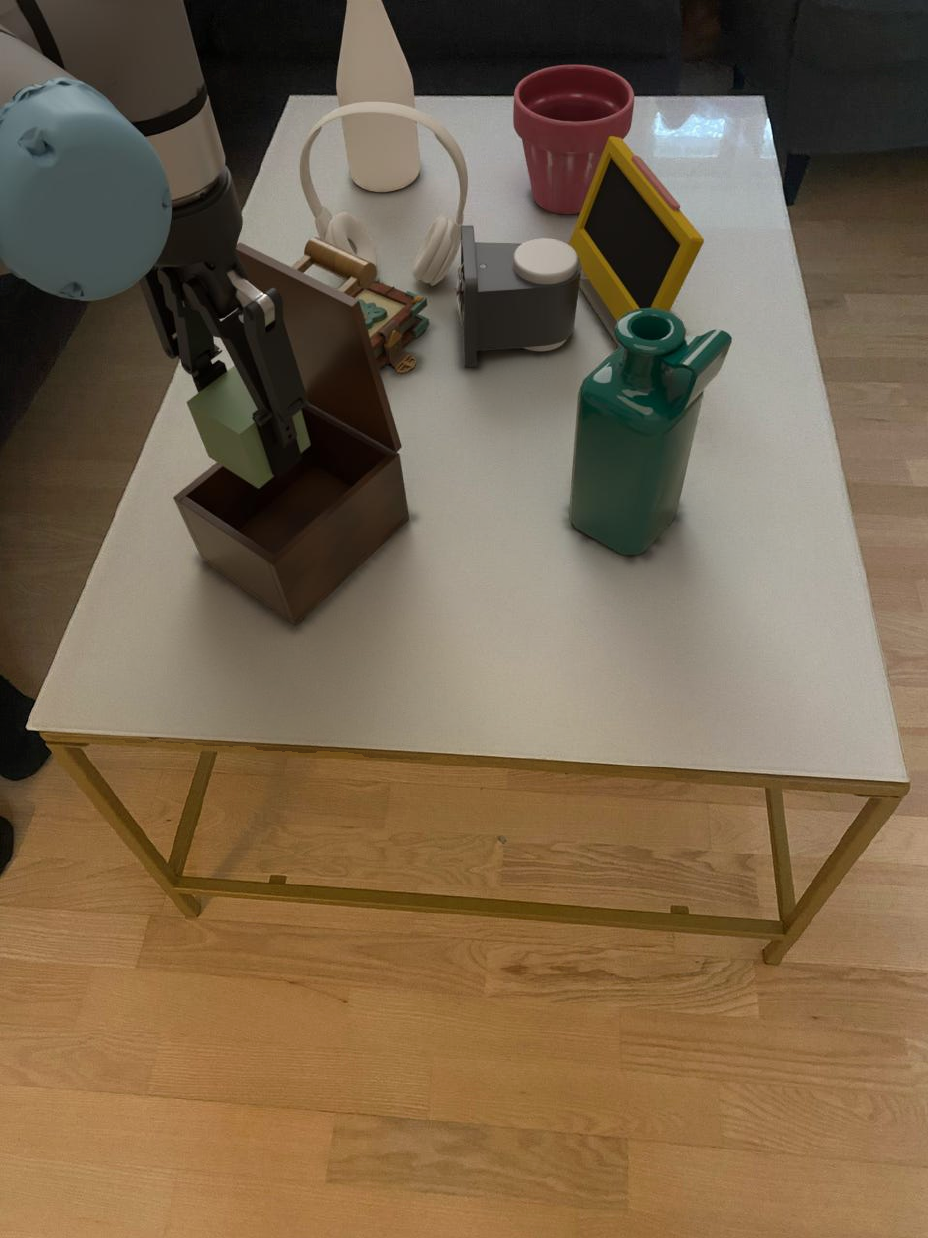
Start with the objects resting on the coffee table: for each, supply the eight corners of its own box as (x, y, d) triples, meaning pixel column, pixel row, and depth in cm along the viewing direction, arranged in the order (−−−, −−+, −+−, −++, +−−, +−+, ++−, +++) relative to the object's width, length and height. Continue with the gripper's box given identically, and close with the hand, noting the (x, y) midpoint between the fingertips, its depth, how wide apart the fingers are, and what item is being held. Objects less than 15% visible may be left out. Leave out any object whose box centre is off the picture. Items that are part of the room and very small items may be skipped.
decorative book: (257, 383, 99) (246, 346, 95) (357, 296, 107) (351, 259, 102) (351, 428, 94) (344, 391, 90) (449, 335, 102) (446, 297, 98)
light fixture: (577, 368, 98) (589, 281, 89) (457, 371, 98) (456, 284, 89) (567, 306, 105) (577, 218, 96) (453, 308, 104) (453, 221, 95)
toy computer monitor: (565, 272, 107) (572, 140, 94) (626, 257, 108) (641, 124, 95) (633, 378, 96) (652, 245, 83) (700, 361, 97) (729, 227, 84)
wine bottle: (369, 202, 118) (329, -72, 93) (339, 169, 122) (294, -100, 98) (433, 180, 120) (411, -94, 95) (401, 148, 125) (372, -120, 100)
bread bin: (296, 626, 80) (274, 566, 73) (202, 560, 85) (172, 497, 78) (409, 518, 87) (399, 453, 79) (316, 462, 92) (298, 396, 84)
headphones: (467, 299, 105) (458, 126, 89) (315, 292, 107) (278, 122, 91) (475, 262, 109) (468, 90, 93) (329, 256, 111) (296, 87, 95)
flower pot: (644, 184, 117) (657, 80, 106) (587, 239, 111) (595, 134, 100) (551, 154, 122) (554, 52, 111) (492, 204, 116) (489, 102, 105)
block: (258, 489, 72) (239, 434, 67) (208, 457, 74) (185, 401, 69) (311, 444, 74) (296, 389, 69) (260, 415, 77) (242, 359, 72)
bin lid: (352, 307, 65) (403, 258, 66) (232, 247, 69) (283, 203, 71) (396, 453, 79) (437, 409, 81) (295, 395, 84) (335, 355, 86)
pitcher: (560, 522, 85) (571, 331, 67) (610, 470, 89) (634, 274, 71) (647, 572, 82) (685, 384, 64) (696, 515, 85) (746, 321, 67)
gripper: (321, 196, 53) (374, 471, 72) (117, 107, 60) (214, 378, 79) (227, 261, 50) (309, 530, 69) (24, 158, 57) (149, 427, 76)
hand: (258, 448), depth 74 cm, fingers closed on block, 6 cm apart
